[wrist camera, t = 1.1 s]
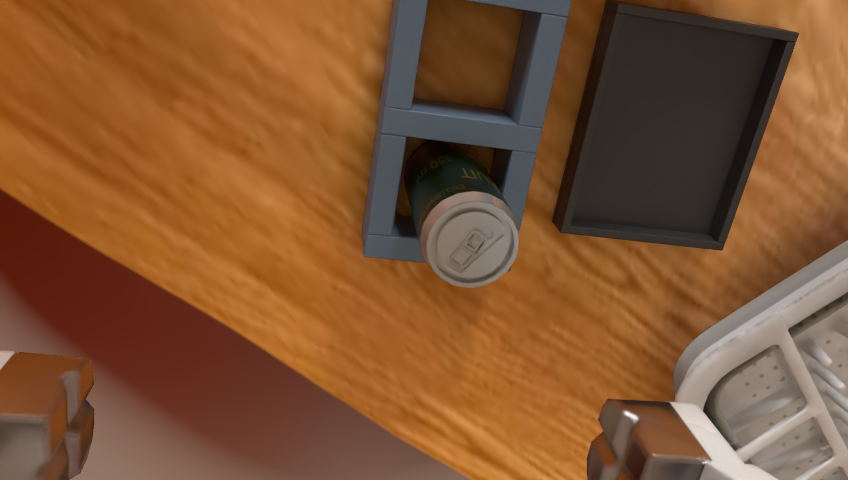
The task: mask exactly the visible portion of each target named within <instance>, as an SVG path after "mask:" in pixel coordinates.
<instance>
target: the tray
mask: <svg viewBox="0 0 848 480" xmlns="http://www.w3.org/2000/svg"><path fill="white" fill-rule="evenodd" d="M798 35H799V33H797V32H793V31H788V30H784V29H779V28H773V27H767V26H761V25H755V24H749V23H743V22H737V21H731V20H726V19H720V18H714V17H708V16H702V15H696V14H690V13H684V12H678V11H672V10H666V9H660V8H654V7H648V6H643V5H637V4H631V3H625V2H619V1H613V0H607V2H606V6H605V10H604V14H603V18H602V22H601V26H600V30H599V34H598V39H597V43H596V47H595V51H594V55H593V59H592V63H591V67H590V71H589V75H588V79H587V83H586V87H585V91H584V95H583V99H582V103H581V107H580V111H579V115H578V119H577V123H576V128H575V132H574V136H573V140H572V144H571V148H570V152H569V156H568V160H567V164H566V168H565V172H564V176H563V180H562V184H561V188H560V192H559V196H558V200H557V204H556V208H555V212H554V217H553V221H552V222H553V223H554V224H555V226H556V227H557V229H558V230H559V231H560V232H561V233H568V234H577V235H586V236H595V237H604V238H613V239H622V240H631V241H640V242H649V243H659V244H668V245H677V246H686V247H695V248H704V249H713V250H723V247H724V245H725V242H726V239H727V236H728V233H729V230H730V228H731V225H732V222H733V219H734V216H735V213H736V211H737V208H738V205H739V202H740V199H741V196H742V194H743V191H744V188H745V185H746V182H747V179H748V177H749V174H750V171H751V168H752V165H753V162H754V160H755V157H756V154H757V151H758V148H759V145H760V143H761V140H762V137H763V134H764V131H765V128H766V126H767V123H768V120H769V117H770V114H771V111H772V109H773V106H774V103H775V100H776V97H777V94H778V92H779V89H780V86H781V83H782V80H783V77H784V75H785V72H786V69H787V66H788V63H789V60H790V58H791V55H792V52H793V49H794V46H795V42H796V41H797V38H798Z"/></svg>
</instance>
